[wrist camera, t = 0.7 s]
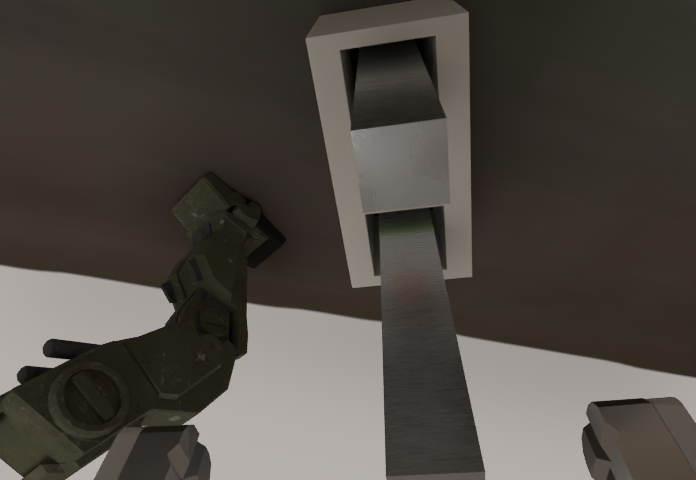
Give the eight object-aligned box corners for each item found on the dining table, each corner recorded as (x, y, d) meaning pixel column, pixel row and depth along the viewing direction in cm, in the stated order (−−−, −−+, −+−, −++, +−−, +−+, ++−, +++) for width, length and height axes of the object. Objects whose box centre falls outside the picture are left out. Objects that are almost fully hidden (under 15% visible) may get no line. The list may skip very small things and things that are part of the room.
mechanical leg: (317, 259, 50) (153, 519, 22) (272, 294, 52) (79, 562, 25) (227, 160, 47) (-77, 315, 20) (185, 202, 50) (-130, 387, 23)
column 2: (378, 212, 38) (385, 476, 19) (429, 206, 37) (485, 471, 19) (384, 258, 40) (396, 530, 22) (432, 253, 40) (485, 528, 21)
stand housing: (320, 15, 37) (304, 40, 29) (446, -6, 36) (470, 13, 27) (355, 226, 48) (352, 292, 39) (454, 216, 47) (473, 281, 38)
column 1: (360, 36, 38) (349, 130, 20) (410, 28, 38) (447, 117, 19) (367, 92, 40) (363, 222, 22) (414, 85, 40) (451, 212, 22)
